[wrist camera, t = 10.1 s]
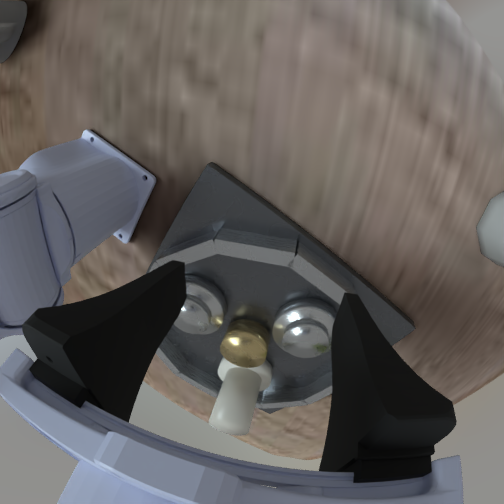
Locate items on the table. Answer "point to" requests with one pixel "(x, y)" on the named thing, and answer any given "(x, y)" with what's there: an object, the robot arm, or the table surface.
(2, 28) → the coffee mug
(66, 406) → the robot arm
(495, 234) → the flask
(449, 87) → the table surface
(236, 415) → the white mushroom peg
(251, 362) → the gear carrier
